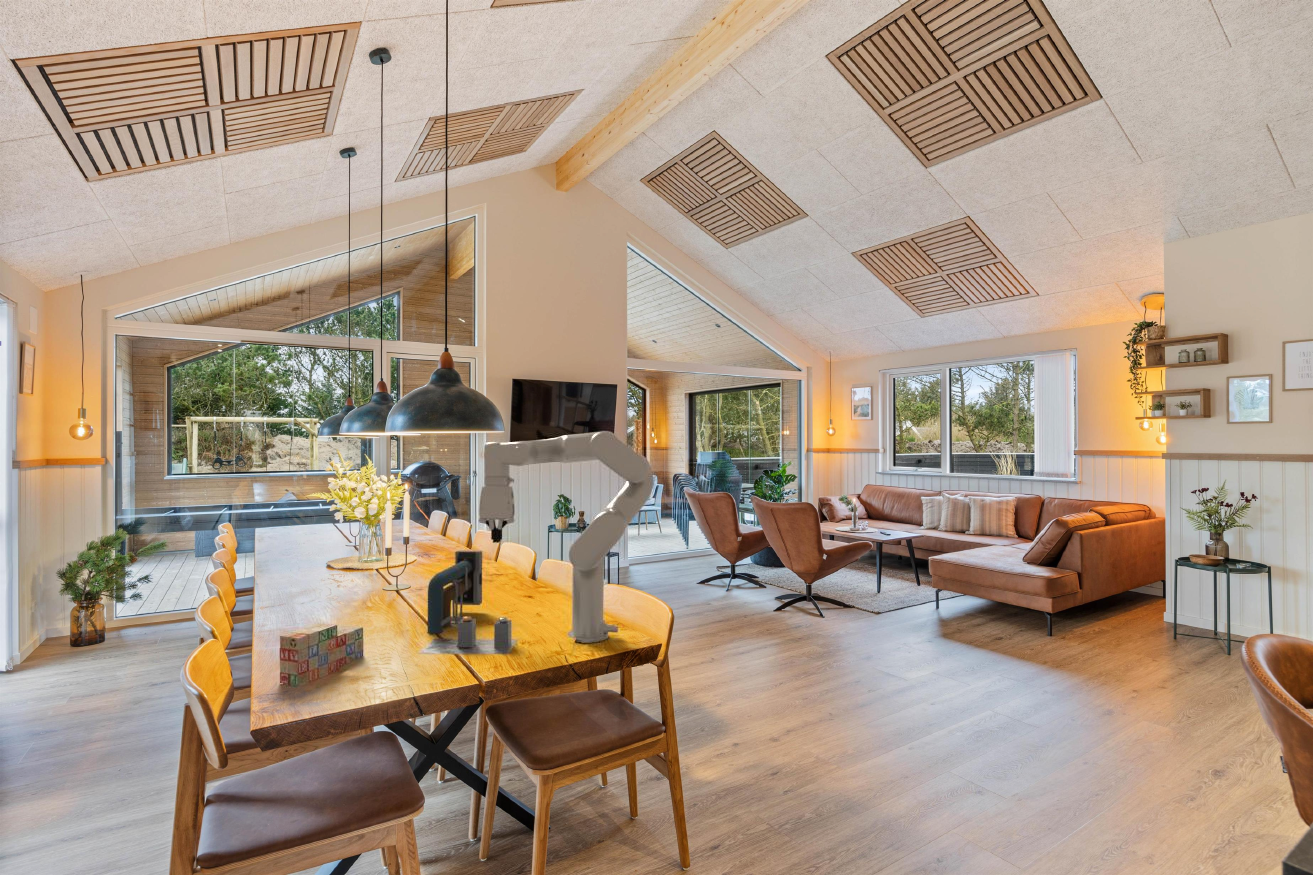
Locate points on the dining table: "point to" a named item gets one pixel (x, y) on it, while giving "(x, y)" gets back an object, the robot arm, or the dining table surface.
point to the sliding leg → (466, 632)
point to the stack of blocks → (317, 651)
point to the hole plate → (452, 647)
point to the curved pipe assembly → (454, 590)
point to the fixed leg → (502, 633)
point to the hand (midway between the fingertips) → (496, 541)
